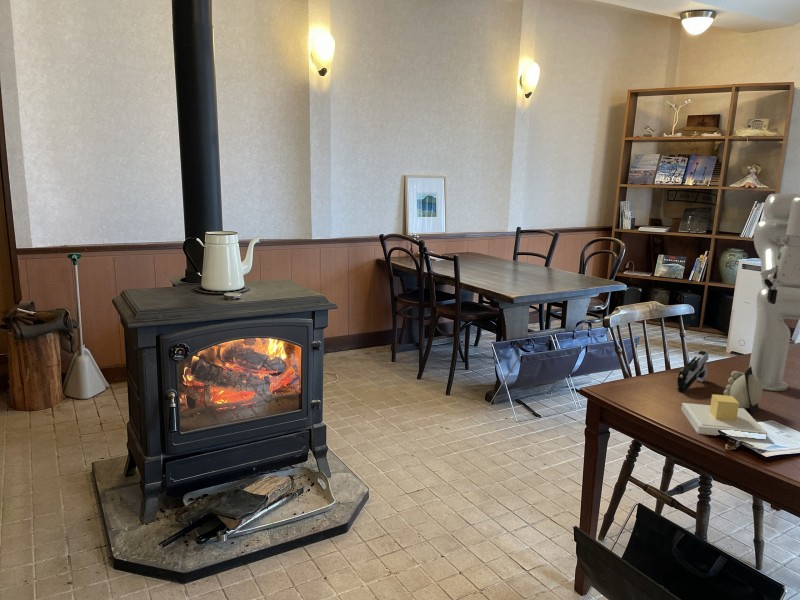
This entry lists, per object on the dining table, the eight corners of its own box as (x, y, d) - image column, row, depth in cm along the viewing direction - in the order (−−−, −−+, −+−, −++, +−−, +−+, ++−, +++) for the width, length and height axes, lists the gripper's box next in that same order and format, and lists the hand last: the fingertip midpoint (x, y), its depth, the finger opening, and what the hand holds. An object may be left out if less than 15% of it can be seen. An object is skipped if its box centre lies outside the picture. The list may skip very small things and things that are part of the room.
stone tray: (681, 409, 168) (682, 402, 168) (742, 415, 166) (743, 407, 165) (697, 433, 153) (698, 425, 153) (765, 440, 150) (767, 432, 150)
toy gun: (676, 402, 185) (676, 373, 180) (700, 375, 195) (701, 347, 190) (684, 405, 183) (684, 375, 179) (708, 377, 193) (709, 348, 189)
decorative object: (723, 417, 169) (730, 407, 176) (763, 417, 163) (769, 407, 170) (715, 374, 169) (723, 366, 176) (755, 373, 162) (762, 365, 169)
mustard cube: (709, 411, 162) (712, 394, 161) (729, 413, 161) (732, 395, 160) (715, 419, 157) (718, 401, 156) (736, 421, 156) (739, 403, 155)
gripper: (772, 242, 160) (761, 305, 164) (844, 245, 157) (831, 309, 161) (761, 239, 167) (751, 299, 171) (829, 242, 164) (818, 303, 168)
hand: (790, 304), depth 166 cm, fingers open, 9 cm apart
